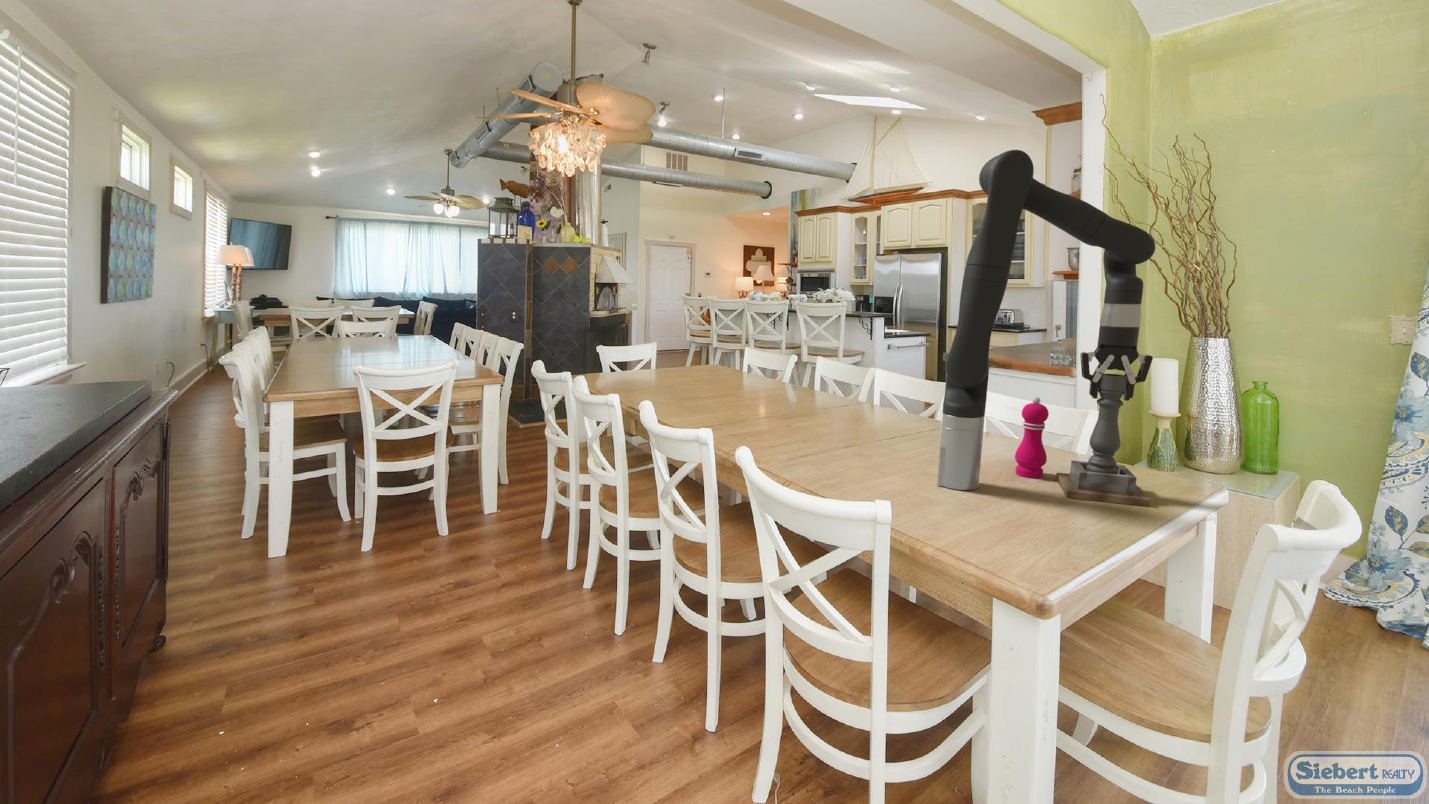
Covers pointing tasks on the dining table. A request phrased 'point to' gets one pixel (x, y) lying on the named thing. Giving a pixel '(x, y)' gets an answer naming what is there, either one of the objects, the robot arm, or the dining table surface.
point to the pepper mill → (1032, 441)
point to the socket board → (1102, 485)
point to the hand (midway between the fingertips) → (1110, 398)
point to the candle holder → (1107, 424)
